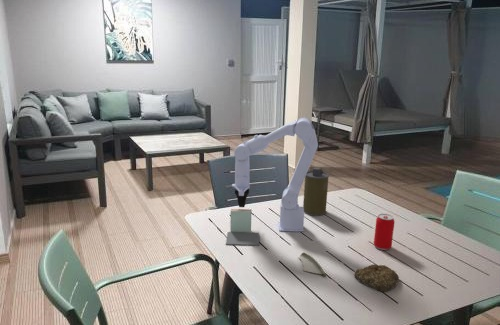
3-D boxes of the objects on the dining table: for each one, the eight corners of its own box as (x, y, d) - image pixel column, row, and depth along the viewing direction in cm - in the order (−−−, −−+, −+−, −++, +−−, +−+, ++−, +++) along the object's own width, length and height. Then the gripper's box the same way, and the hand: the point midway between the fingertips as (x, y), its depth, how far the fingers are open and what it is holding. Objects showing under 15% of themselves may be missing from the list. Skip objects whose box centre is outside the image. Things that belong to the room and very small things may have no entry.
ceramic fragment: (327, 277, 126) (328, 266, 125) (313, 281, 124) (314, 270, 123) (303, 258, 138) (303, 247, 137) (290, 261, 136) (290, 250, 135)
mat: (258, 233, 154) (258, 232, 154) (259, 245, 145) (259, 244, 145) (227, 232, 154) (227, 231, 154) (225, 244, 145) (225, 243, 145)
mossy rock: (381, 296, 117) (383, 281, 115) (348, 277, 126) (349, 263, 125) (407, 282, 124) (409, 268, 123) (374, 265, 134) (375, 252, 132)
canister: (322, 217, 171) (325, 172, 166) (299, 213, 175) (301, 169, 170) (329, 209, 180) (332, 166, 175) (306, 205, 185) (309, 163, 179)
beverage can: (392, 245, 147) (396, 215, 144) (390, 252, 142) (394, 221, 139) (374, 241, 150) (378, 211, 147) (372, 248, 144) (375, 217, 141)
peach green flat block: (251, 230, 157) (251, 209, 154) (251, 233, 155) (251, 211, 152) (230, 230, 157) (230, 208, 154) (230, 232, 155) (230, 210, 153)
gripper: (233, 169, 165) (232, 200, 168) (231, 179, 151) (230, 213, 154) (250, 169, 164) (249, 200, 168) (249, 180, 150) (249, 213, 154)
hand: (241, 206), depth 161 cm, fingers closed
